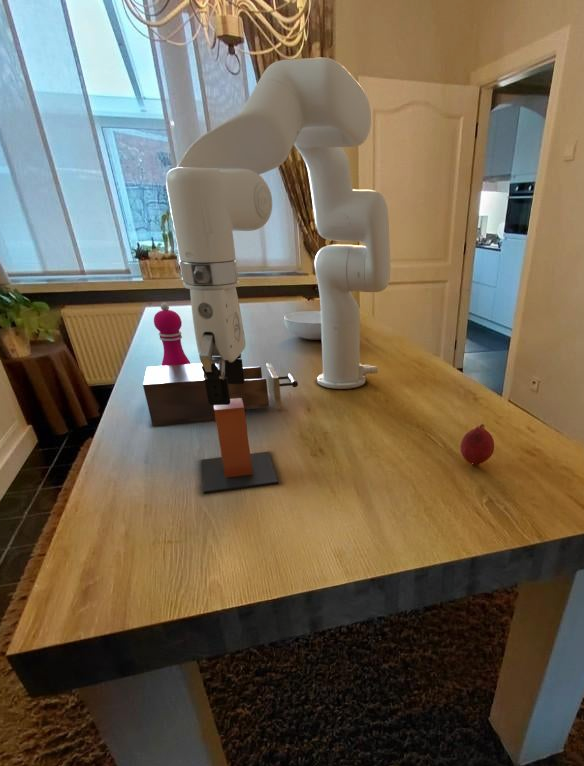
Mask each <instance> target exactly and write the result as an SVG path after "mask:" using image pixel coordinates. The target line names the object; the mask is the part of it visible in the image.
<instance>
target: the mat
mask: <svg viewBox="0 0 584 766" xmlns="http://www.w3.org/2000/svg"><path fill="white" fill-rule="evenodd" d="M250 457H251V464H252V472H253V474H252V475H244V476H236V477H229V478H225V474H224V468H223V462H222V456H219V457H211V458H203V459H201V469H202V470H201V471H202V472H201V473H202V487H203V494H210V493H218V492H225V491H233V490H241V489H248V488H255V487H263V486H270V485H277V484H278V485H279V480H278V476H277V474H276V470H275V467H274V464H273V462H272V458H271V454H270V452H269V451H264V452H255V453H254V452H253V453H250Z"/></svg>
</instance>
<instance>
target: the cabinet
mask: <svg viewBox="0 0 584 766" xmlns="http://www.w3.org/2000/svg"><path fill="white" fill-rule="evenodd" d="M216 366H217V368H218V369H219V366H218V364H216ZM142 388H143V393H144V395H145V400H146V403H147V409H148V413H149V417H150V421H151V425H152V427H157V426H170V425H178V424H179V425H181V424H189V423H200V422H211V421H216V419H215V412H214V405H210V404H209V402H208V397H207V391H206V385H205V379H204V377H203V370H202V363H201V362H200V363H191V364H183V365H169V366H162V365H157V366H155V365H154V366H146V370H145V374H144V378H143V382H142Z"/></svg>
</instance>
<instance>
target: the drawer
mask: <svg viewBox="0 0 584 766" xmlns="http://www.w3.org/2000/svg"><path fill="white" fill-rule="evenodd" d="M265 366H266V375H267V377H263V372H262V367H261V365H258V366H256V365H255V366H243V372H244V380H245V382H244V383H243V384H228V387H229V394H230V399H236V398H242V401H243V405H244V410H249V409H261V408H270V404H269V396H270V398H271V400H272V403H273V405H274V407H275V410H282V398H281V397H282V396H281V387H290V386H292V387H293V388H297V387H298V386H299V383H298V380H297V378H296V377H295V376H294V374H293V373H288V374H287V375H280V376H279V375H278V373H277V371H276V370H275V368H274V366H273V364H272V363H271V362H270V363H266V365H265ZM280 380H288V382H280Z"/></svg>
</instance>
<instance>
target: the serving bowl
mask: <svg viewBox="0 0 584 766" xmlns="http://www.w3.org/2000/svg"><path fill="white" fill-rule="evenodd" d="M283 320H284V325H285V327H286V329H287V330H288V332H290V333H291V334H292V335H293V336H296V337H298V338H302V339H305V340H308V341H322V333H321V310H305V311H296V312H290V313H288V314H285V315H284V316H283Z"/></svg>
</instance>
